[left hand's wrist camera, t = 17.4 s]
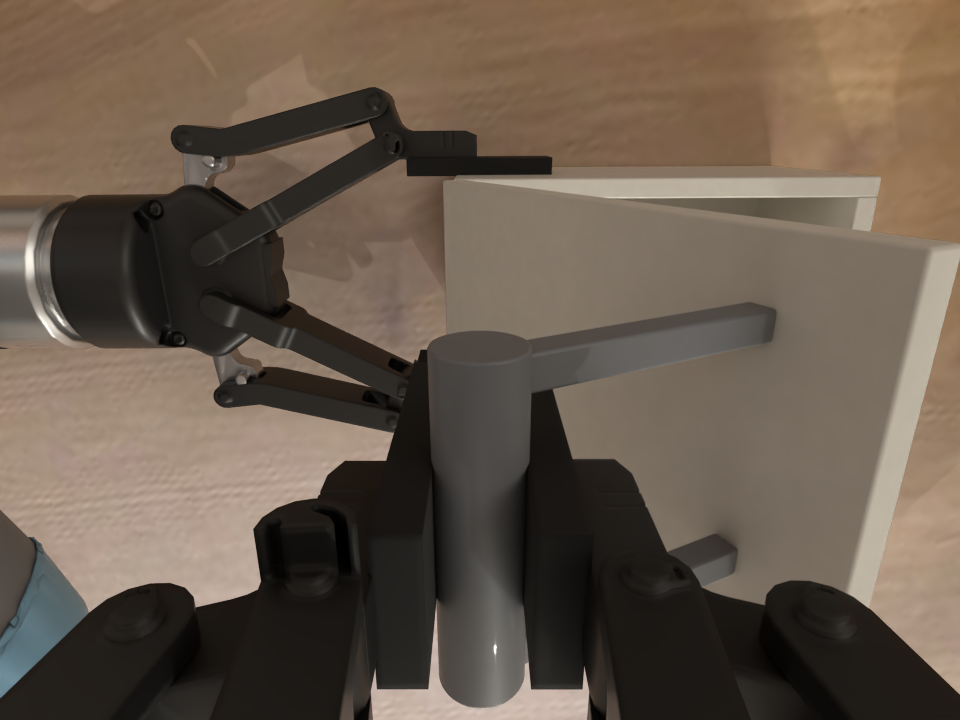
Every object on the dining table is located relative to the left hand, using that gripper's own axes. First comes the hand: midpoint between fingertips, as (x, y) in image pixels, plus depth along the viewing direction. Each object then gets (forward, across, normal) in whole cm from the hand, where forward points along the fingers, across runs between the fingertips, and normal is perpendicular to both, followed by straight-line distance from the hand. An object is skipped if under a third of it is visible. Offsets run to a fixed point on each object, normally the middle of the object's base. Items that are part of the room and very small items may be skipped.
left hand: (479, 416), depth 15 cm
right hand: (+17, -3, 0) cm, 17 cm away
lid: (+5, -4, 0) cm, 6 cm away
